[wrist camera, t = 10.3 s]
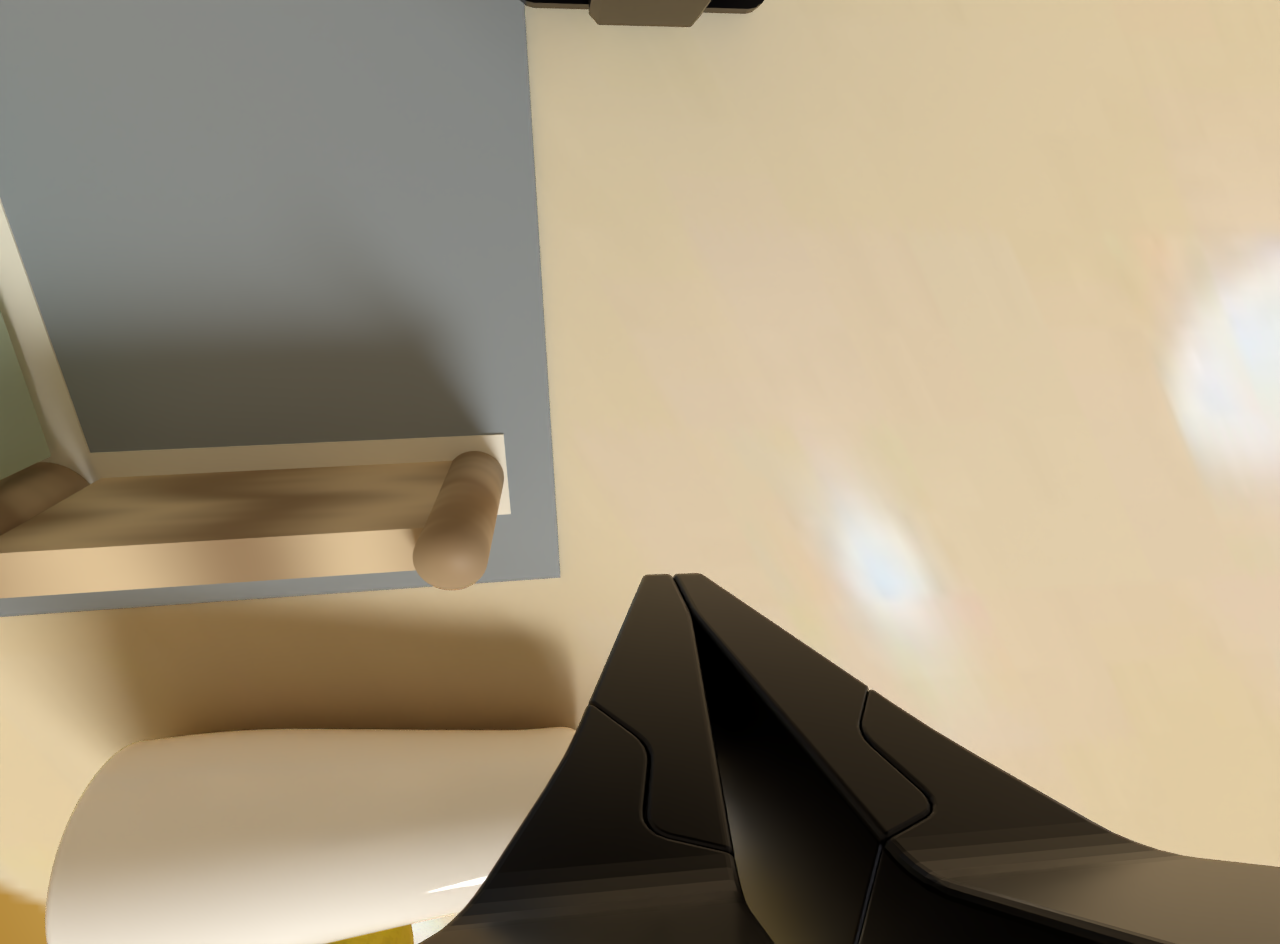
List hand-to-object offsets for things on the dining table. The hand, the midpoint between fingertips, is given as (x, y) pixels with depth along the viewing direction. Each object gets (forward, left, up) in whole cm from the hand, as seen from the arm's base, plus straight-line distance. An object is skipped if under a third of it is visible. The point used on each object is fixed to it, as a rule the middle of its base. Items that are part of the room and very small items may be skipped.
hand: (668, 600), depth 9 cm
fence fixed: (+3, -11, -12) cm, 16 cm away
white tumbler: (+15, -1, -9) cm, 17 cm away
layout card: (-3, -12, -12) cm, 17 cm away
